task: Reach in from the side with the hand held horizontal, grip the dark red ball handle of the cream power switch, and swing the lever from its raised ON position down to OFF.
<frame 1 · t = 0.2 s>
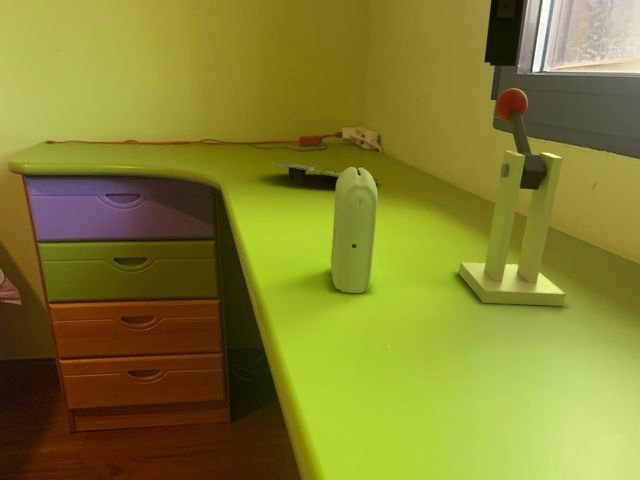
hand: (501, 65, 68), 23 cm above the table, tool pointing down, fingers open, 13 cm apart
city model: (325, 183, 144), on the table
switch lever: (520, 136, 78), point 16 cm above the table, hinge at 30.0°
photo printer: (348, 282, 80), on the table
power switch: (507, 288, 81), on the table
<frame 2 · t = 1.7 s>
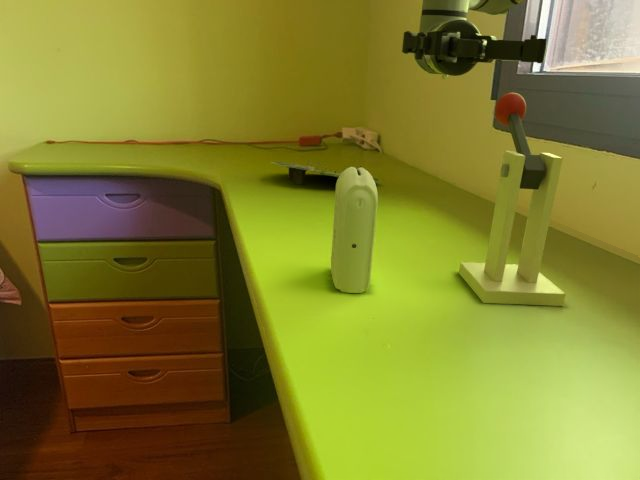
hand: (490, 46, 89), 25 cm above the table, tool horizontal, fingers open, 13 cm apart
switch lever: (519, 138, 78), point 16 cm above the table, hinge at 27.5°
everything else where it was.
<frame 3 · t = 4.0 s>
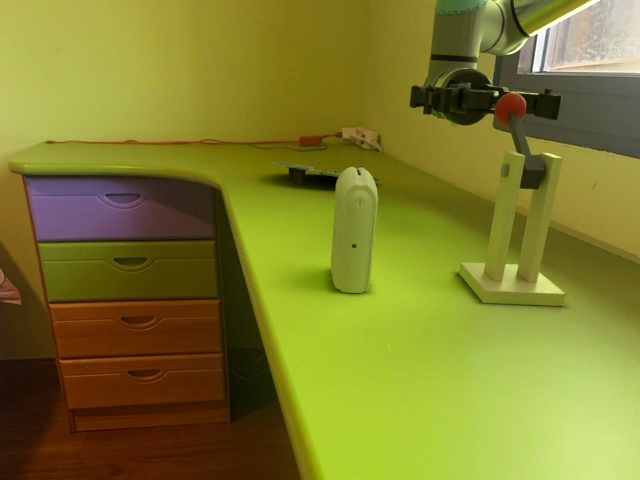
hand: (502, 104, 84), 19 cm above the table, tool horizontal, fingers open, 13 cm apart
nothing on the table moved.
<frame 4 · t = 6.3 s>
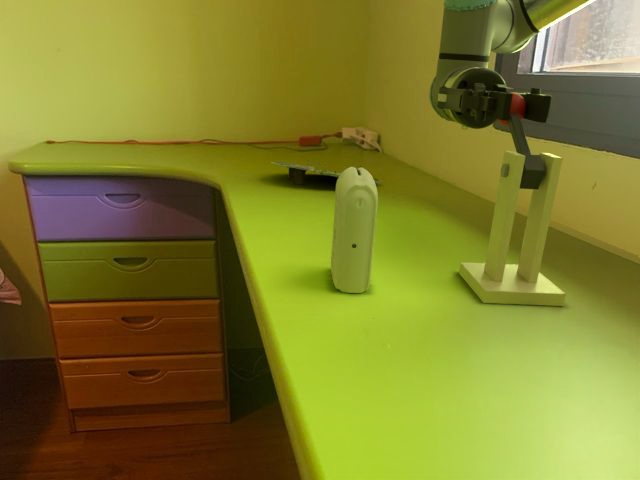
hand: (526, 108, 76), 19 cm above the table, tool horizontal, fingers closed on switch lever, 4 cm apart
switch lever: (519, 138, 78), point 16 cm above the table, hinge at 27.5°, touching gripper
everything else where it was.
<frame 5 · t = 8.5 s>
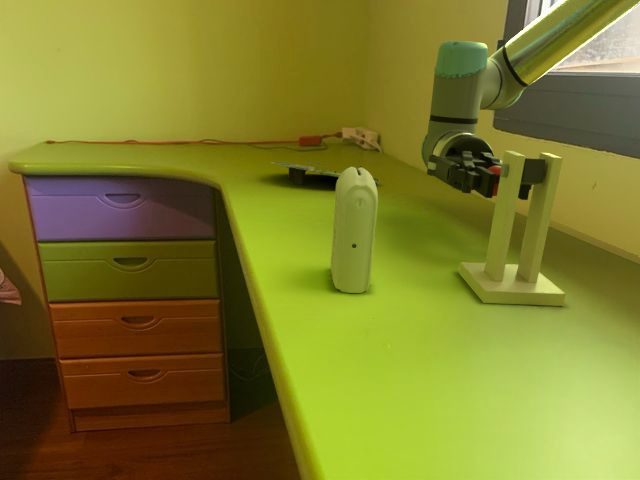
hand: (508, 187, 81), 10 cm above the table, tool horizontal, fingers closed on switch lever, 4 cm apart
switch lever: (510, 176, 81), point 12 cm above the table, hinge at -13.0°, touching gripper
everything else where it was.
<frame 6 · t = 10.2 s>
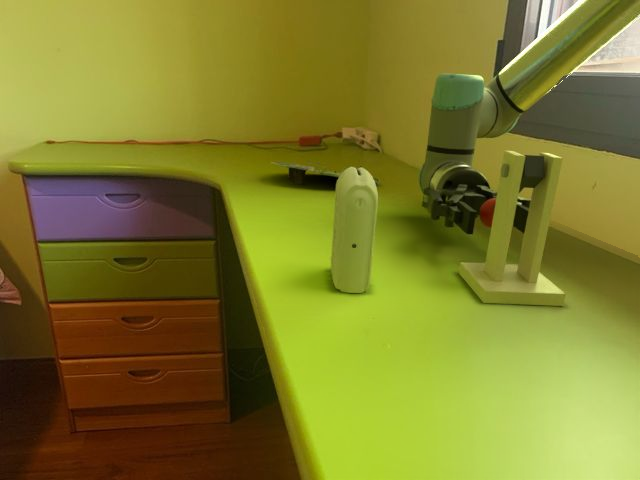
hand: (502, 224, 83), 6 cm above the table, tool horizontal, fingers open, 7 cm apart
switch lever: (509, 194, 81), point 10 cm above the table, hinge at -31.9°
everything else where it was.
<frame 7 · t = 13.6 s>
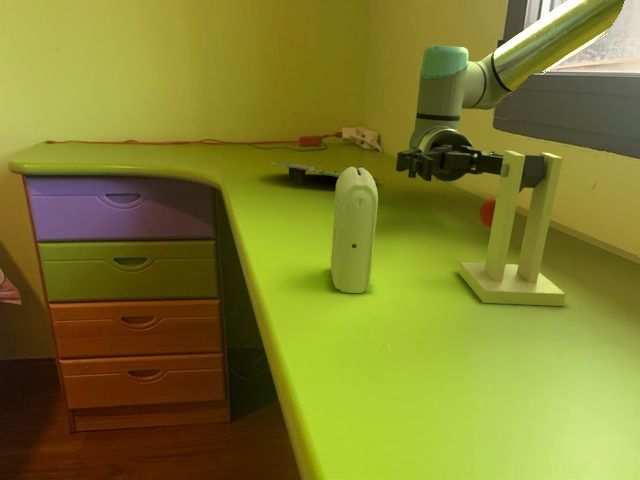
hand: (479, 173, 94), 10 cm above the table, tool horizontal, fingers open, 13 cm apart
nothing on the table moved.
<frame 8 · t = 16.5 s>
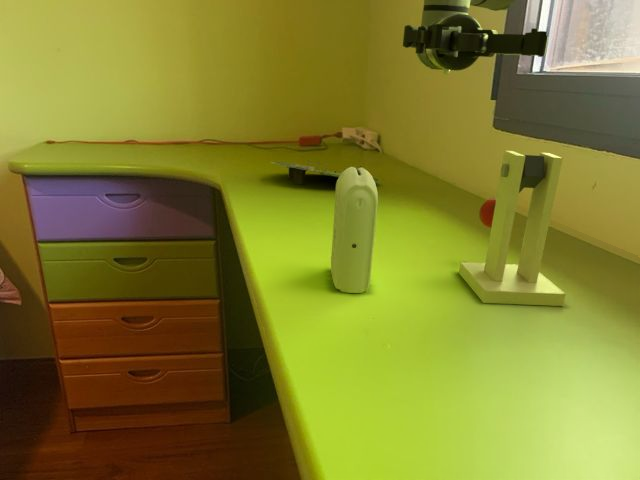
hand: (490, 39, 89), 26 cm above the table, tool horizontal, fingers open, 13 cm apart
nothing on the table moved.
at the end: switch lever at -32° (first picture: +30°); the gripper is holding nothing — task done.
